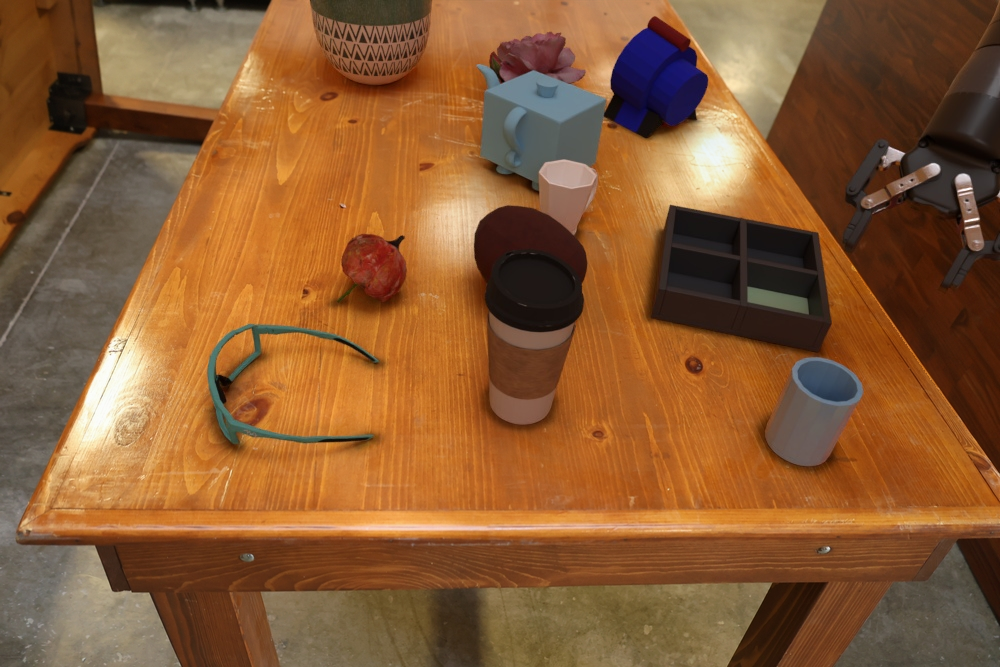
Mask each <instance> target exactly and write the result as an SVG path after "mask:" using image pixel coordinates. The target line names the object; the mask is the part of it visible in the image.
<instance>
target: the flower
mask: <svg viewBox="0 0 1000 667" xmlns="http://www.w3.org/2000/svg"><path fill="white" fill-rule="evenodd" d="M566 44H567V38H566V37H565V36H563V35H562V32H556V33H553V32H552V31H549V32H546V33H545V34H544V33H539V32H538V33H535V34H534V35H532V36H530V35H525V36H524V37H522V38H521V39H520V40H519V39H518V38H514V39H512V40H509V41H501V42H500V43H499V45H498V47H497V48H496V52H495V51H494V50H493V51H492V52H491V53H490V55H489V59H488V63H489V68H491V69H492V70H493V71H494V72H495V74H496V75H497V77H498V80H499V82H500V83H501V84H502V83H504V82H507V81H509V80H512V79H514V78H516V77H519V76H521V75H524V74H526V73H528V72H531V71H533V70H534V71H537V72H539V73H542V74H545V75H547V76H550V77H552V78H555V79H558V80H560V81H563V82H565V83H568V84H574V83H576V82H579V81H580V80H582V79H583V78H584V77H585V76H586V73H587V71H586V69H580V68H576V67H572V65H574V63H575V61H576V55H575V53H574V52H573V51H572V49H571V47H567V46H566ZM565 46H566V47H565Z"/></svg>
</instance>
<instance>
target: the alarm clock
mask: <svg viewBox="0 0 1000 667" xmlns="http://www.w3.org/2000/svg"><path fill="white" fill-rule="evenodd" d="M691 43H692V41H691V39H690V38H689V37H688V36H686V35H684V34H683V33H682V32H680V31H679V30H677V29H675V27H672V26H671V25H670V24H668V23H667V22H665V21H664V20H663V19H660V18H659V17H658V16H656V15H654V16H652V17H650V19H649V20H648V22H647V26H646V28H643V29H642V30H640V31H639V32H637V33H636V34H635V35H634V36H632V38H631V39H630V40H629V42H628V43H627V44H626V45H625V46H624V47H623V49H622V51H621V52H620V54H619V55H618V57H617V59H616V61H615V64H614V66H613V68H612V71H611V76H610V80H609V81H610V89H611V92H612V93H613V95H612V96H611V98H610V101H609V102H608V104H607V107H606V108H605V112H604V117H605V118H607V119H609V120H610V121H611V122H614V123H616V124H618V125H619V126H622V127H623V128H626V129H627V130H630V131H632V132H634V133H635V134H637V135H639V136H641V137H643V138H645V139H647V138H649V137H650V136H651V135H652V134H654V133H655V132H656V131H657V130H658V129H659V128H660V127H661V126H662V125H664V124H666V125H667V126H671V127H673V126H677V125H679V124H681V123H683V122H684V121H685V120H687V119H688V118H689V119H692V120H695V121H697V120H698V119H697V111H696V110H697V108H698V107H699V106H700V104H701V102H702V100H703V98H704V96H705V95H706V92H707V89H708V85H709V77H708V74H707V73H705V72H704V71H702V70H700V68H697V66H698V55H697V52H696V50H695V49H694V48H692V47H691Z"/></svg>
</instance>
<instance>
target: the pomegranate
mask: <svg viewBox="0 0 1000 667" xmlns="http://www.w3.org/2000/svg"><path fill="white" fill-rule="evenodd" d="M405 239H406V236H405V235H403V234H402V235H401V234H400V235H399V236H398V237H397V238H396V239H393V240H386V239H385V238H383V236H380V235H378V234H372V233H360V234H359V235H356V236H354V237H352V238H351V239H350V240H349V241H348V242H347V245H346V247H345V249H344V250H343V253H342V255H341V259H340V260H341V261H340V262H341V264H340V265H341V268H342V272H343V274H344V275H345V276H346V277H348V278H349V279H350V280H351V281H353V282H354V283H353V284H352V285H351V287H349V289H348V290H347V291H345V292H344V293H343V294H342V295H341V296H340V297H339V298H338V299H337V300H336V302H337V303H340V302H341V301H342V300H344V299H345V298H346V297H347V296H349V295H351V293H352V291H353V290H354V289H355V288H356V287H358V286H360V288H362V289H363V290H364V293H365V294H366V295H368V296H369V297H372V298H374V299H375V300H376V301H377V302H379V303H384V302H386V301H389V300H390V299H391V298H392V297H394V296H395V295H397V294H398V293H399V291H400V290H401V288H402V287H403V285H404V284H405V281H406V279H407V273H408V267H407V261H406V259H405V257H404V255H403V254H402V252H400V245H401V243H402V242H403V241H404V240H405Z"/></svg>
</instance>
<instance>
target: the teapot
mask: <svg viewBox="0 0 1000 667" xmlns="http://www.w3.org/2000/svg"><path fill="white" fill-rule="evenodd" d="M476 68H477V69H478V71H479V72H480V73H481V74H482V76H483V77H484V80H485V84H486V89H485V90H484V92H483V94H484V95H483V106H482V107H483V109H482V121H481V122H482V124H481V136H480V155H479V157H481V158H483V159H485V160H488V161H489V162H492V163H494V164H495V165H497V166H496V168H495V171H496V172H497V173H499V174H502V175H511V174H514V173H515V174H517V175H518V176H521V177H523V178H526V179H527V180H530V181H532V182H531V188H532V189H533V190H534V191H537V192H539V171H540V169H541V168H542V166H543V165H544V163H545V162H551V161H557V160H563V159H565V160H570V161H574V162H578V163H582V164H586V165H587V166H588V167H590V168H591V167H592V166H594V165H595V164H597V156H598V150H599V147H600V146H599V144H600V142H601V141H600V140H601V136H602V135H601V134H602V129H603V123H604V117H605V116H604V113H605V111H606V106H607V98H606V97H603V96H601V95H599V94H596V93H593V92H591V91H588V90H586V89H583V88H581V87H577V85H575V84H573V83H570V84H568V83H565V82H563V81H560V80H558V79H555V78H552V77H550V76H547V75H545V74H542V73H539V72H537V71H534V70H533V71H531V72H528V73H526V74H524V75H521V76H519V77H516V78H514V79H512V80H509V81H507V82H504V83H502V82H501V81H500V80H499V79H498V77H497V75H496V74H495V72H494V71H493V70H492V69H491V68H490V66H487V65H486V64H485V65H484V64H479V63H478V64H476Z"/></svg>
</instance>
